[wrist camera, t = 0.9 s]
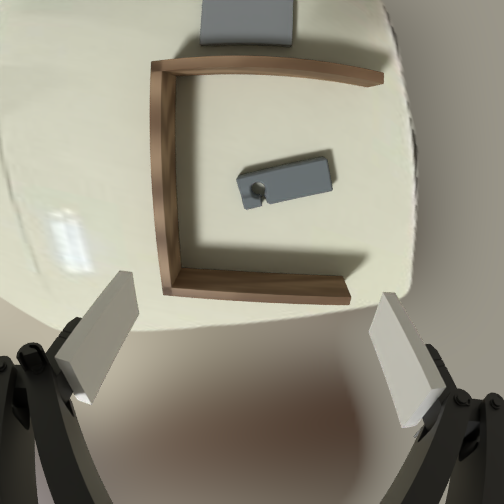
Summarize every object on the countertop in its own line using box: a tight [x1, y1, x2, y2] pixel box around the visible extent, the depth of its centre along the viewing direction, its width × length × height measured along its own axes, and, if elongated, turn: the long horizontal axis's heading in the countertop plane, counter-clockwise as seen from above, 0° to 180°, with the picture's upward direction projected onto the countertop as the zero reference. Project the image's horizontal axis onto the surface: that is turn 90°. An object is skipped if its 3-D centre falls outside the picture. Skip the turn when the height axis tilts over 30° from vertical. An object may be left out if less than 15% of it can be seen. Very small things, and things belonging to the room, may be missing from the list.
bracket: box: [236, 157, 333, 210], centre depth 33 cm, size 4×10×2 cm, turn 105°
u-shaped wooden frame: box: [150, 56, 384, 305], centre depth 31 cm, size 27×23×5 cm
